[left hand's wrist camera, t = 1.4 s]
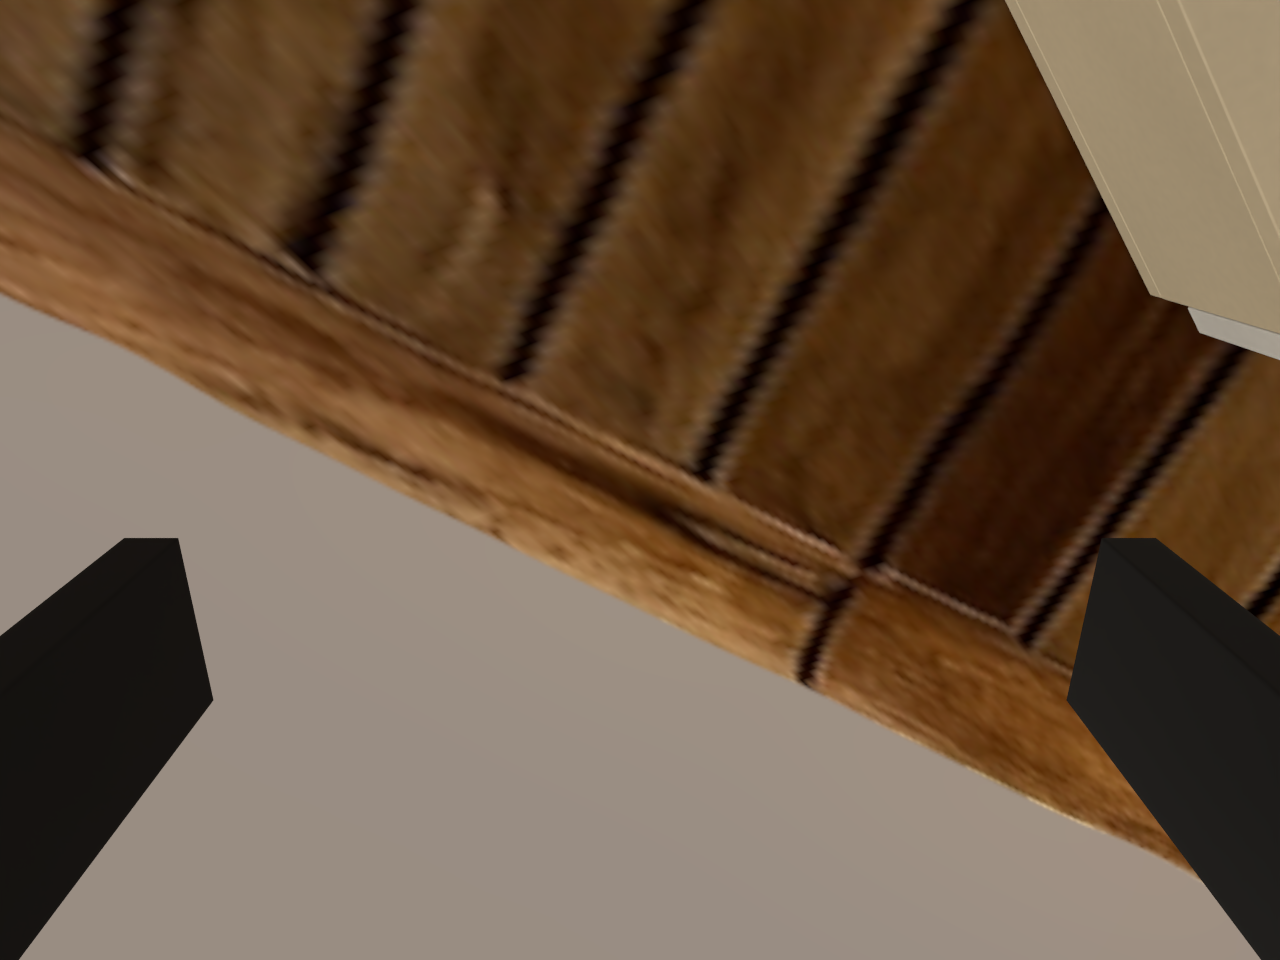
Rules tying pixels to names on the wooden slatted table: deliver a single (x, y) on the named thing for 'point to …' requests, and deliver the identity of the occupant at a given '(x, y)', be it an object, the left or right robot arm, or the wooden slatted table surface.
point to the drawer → (1237, 333)
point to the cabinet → (1177, 136)
